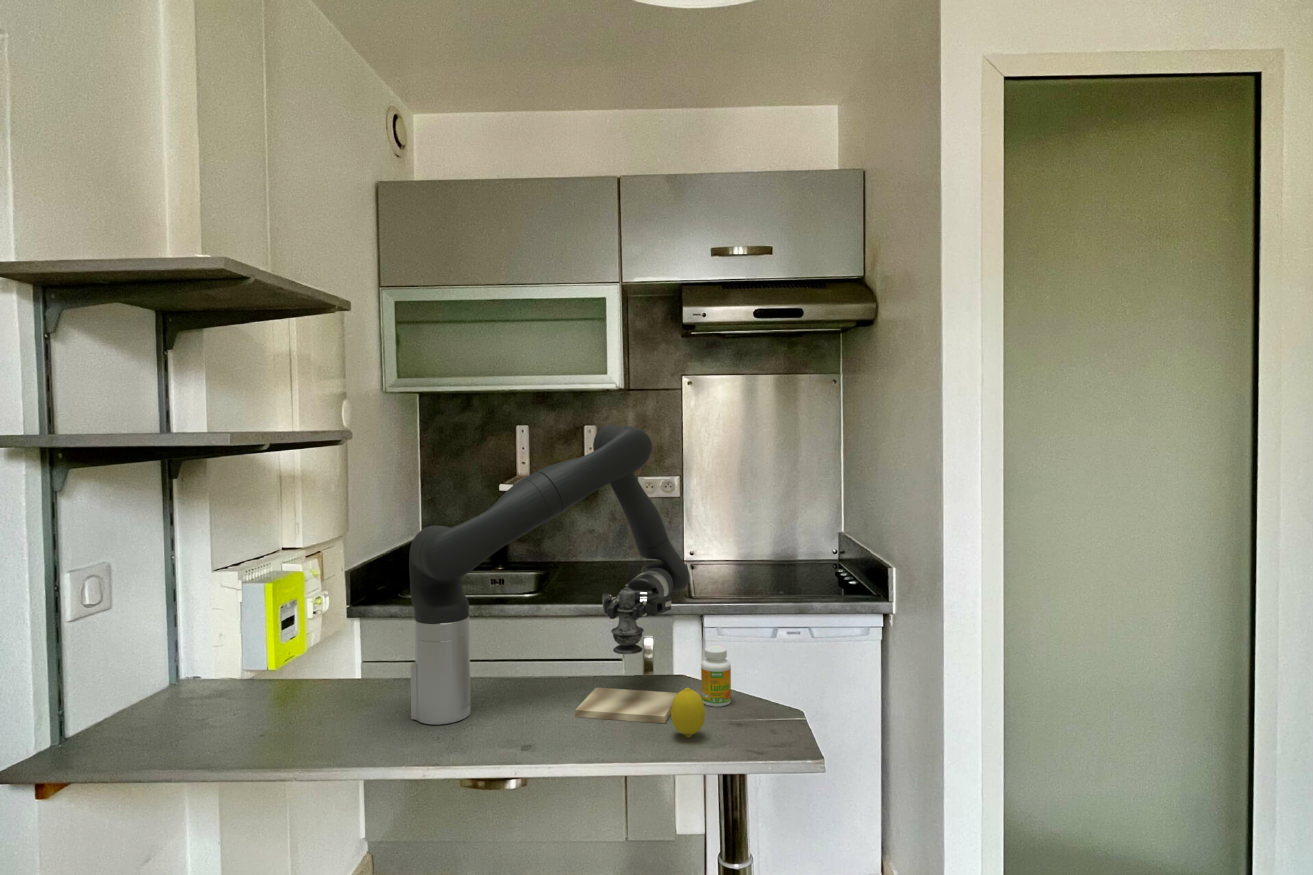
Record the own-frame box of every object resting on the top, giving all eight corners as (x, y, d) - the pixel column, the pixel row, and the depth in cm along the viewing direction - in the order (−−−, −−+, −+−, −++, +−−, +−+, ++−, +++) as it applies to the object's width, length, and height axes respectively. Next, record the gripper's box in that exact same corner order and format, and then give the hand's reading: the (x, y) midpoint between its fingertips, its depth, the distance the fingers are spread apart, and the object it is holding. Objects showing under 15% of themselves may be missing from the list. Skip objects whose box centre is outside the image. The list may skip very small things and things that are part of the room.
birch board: (575, 716, 133) (575, 709, 133) (596, 693, 145) (596, 687, 145) (664, 723, 129) (664, 716, 129) (678, 699, 141) (678, 692, 141)
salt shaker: (640, 655, 134) (639, 587, 133) (607, 654, 135) (606, 586, 135) (647, 645, 139) (646, 580, 139) (616, 644, 141) (615, 579, 140)
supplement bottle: (709, 709, 136) (708, 654, 136) (696, 699, 141) (696, 646, 141) (736, 704, 138) (735, 651, 138) (723, 695, 143) (722, 643, 143)
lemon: (666, 741, 122) (665, 691, 122) (677, 728, 127) (676, 680, 127) (699, 746, 120) (699, 695, 120) (709, 732, 125) (708, 684, 125)
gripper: (611, 572, 152) (584, 591, 136) (681, 575, 149) (662, 593, 132) (612, 610, 153) (584, 633, 136) (681, 613, 149) (662, 636, 133)
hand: (623, 613), depth 134 cm, fingers closed on salt shaker, 3 cm apart
